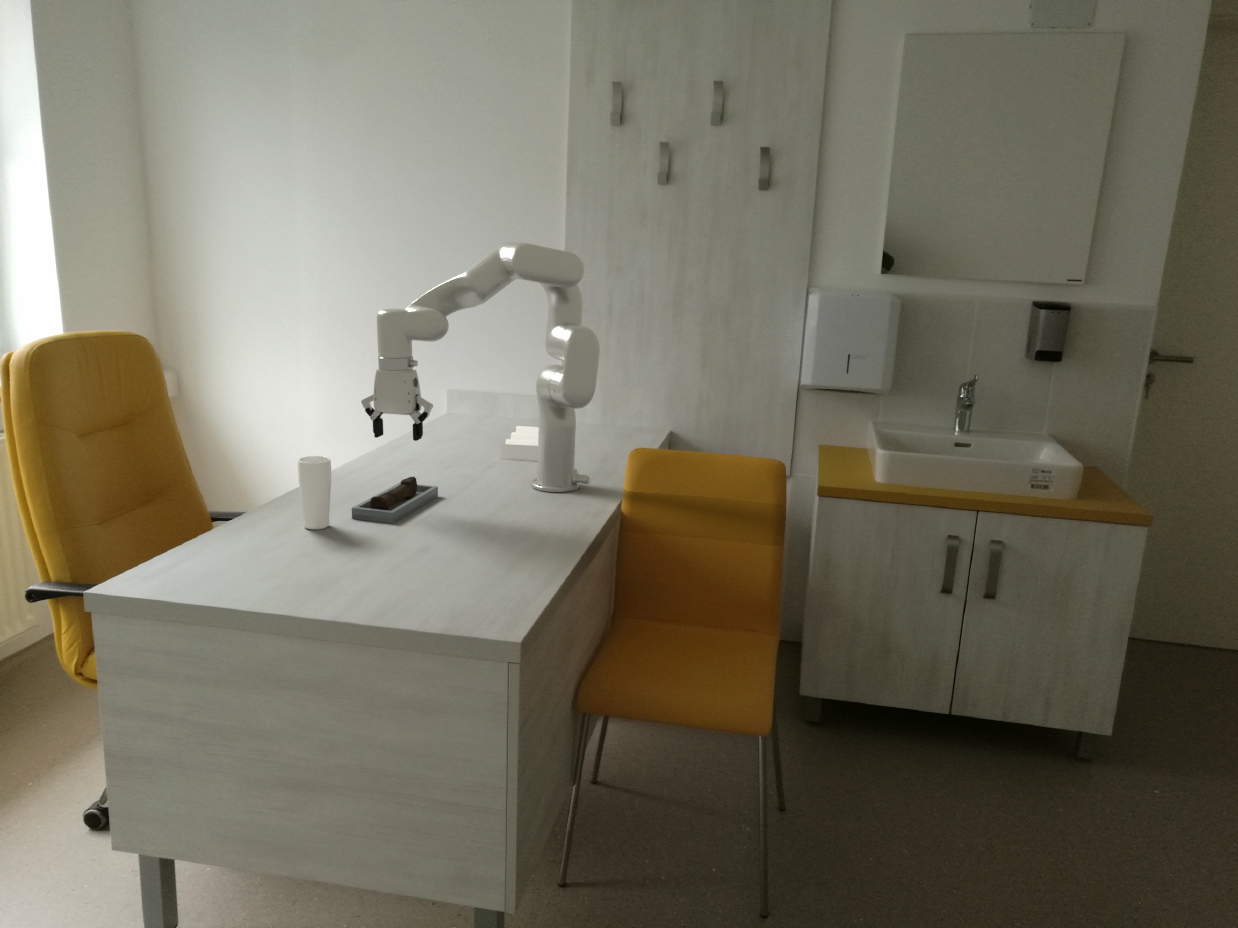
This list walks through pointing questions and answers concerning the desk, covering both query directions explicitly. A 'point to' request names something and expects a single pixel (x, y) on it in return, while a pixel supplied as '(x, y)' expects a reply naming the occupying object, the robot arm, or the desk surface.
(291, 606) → the desk surface
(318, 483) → the white tumbler
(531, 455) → the file organizer
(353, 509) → the tray
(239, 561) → the desk surface
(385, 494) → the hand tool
